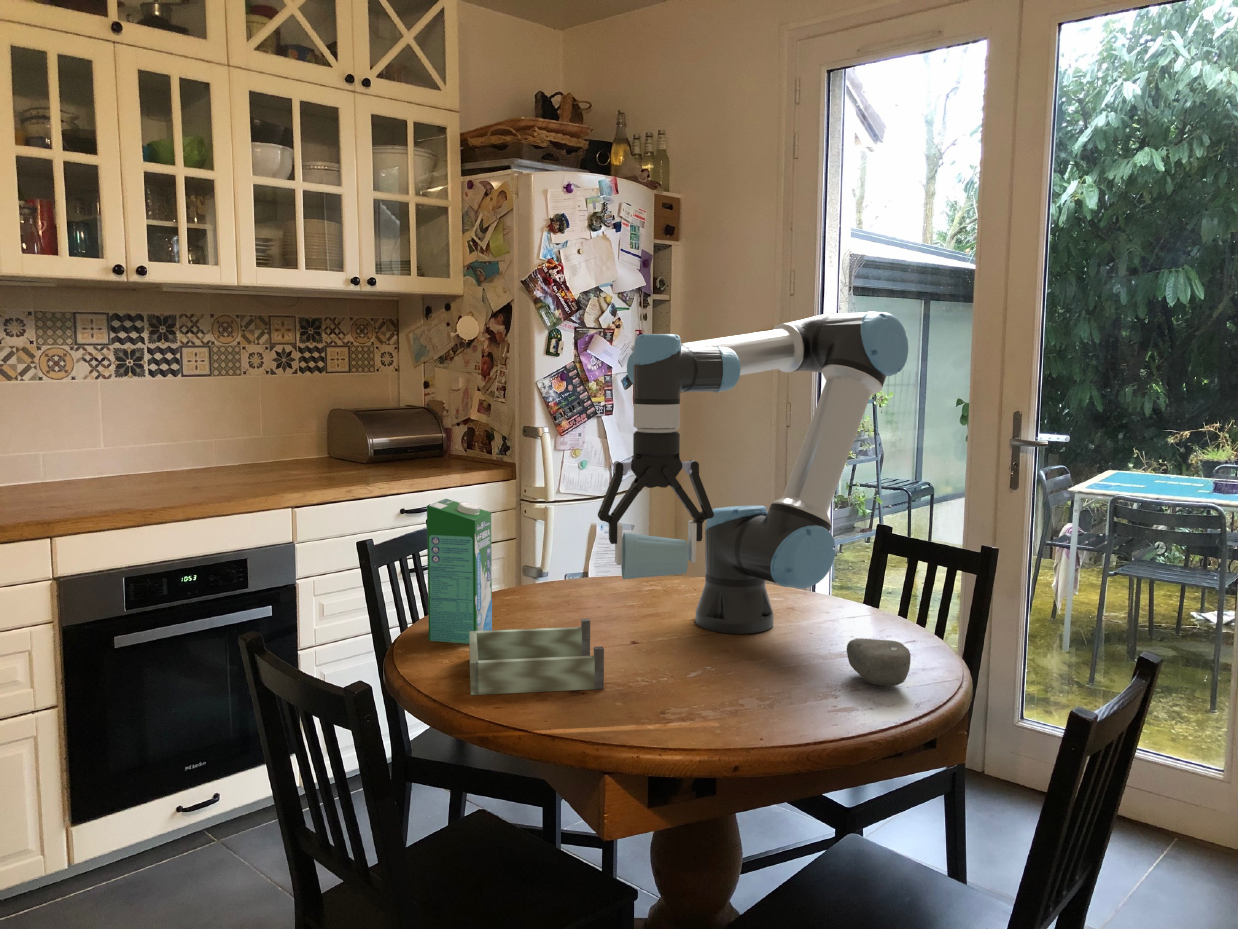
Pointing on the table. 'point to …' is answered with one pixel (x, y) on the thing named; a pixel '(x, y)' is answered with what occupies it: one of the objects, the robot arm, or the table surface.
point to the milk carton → (458, 570)
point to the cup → (652, 556)
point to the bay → (534, 660)
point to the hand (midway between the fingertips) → (655, 562)
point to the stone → (879, 660)
